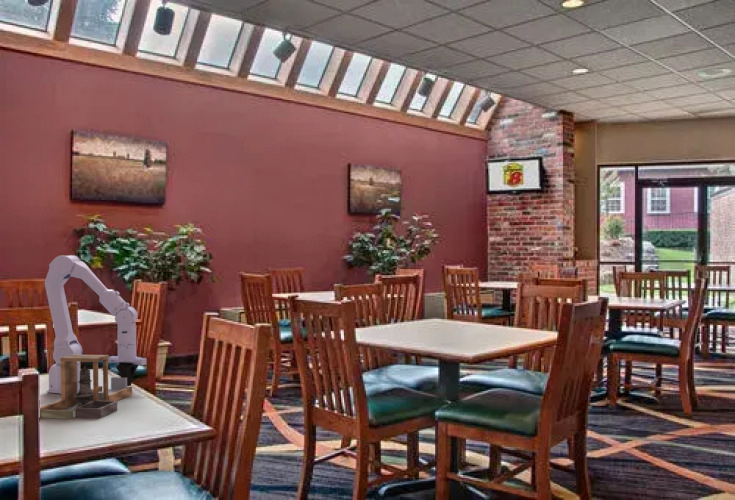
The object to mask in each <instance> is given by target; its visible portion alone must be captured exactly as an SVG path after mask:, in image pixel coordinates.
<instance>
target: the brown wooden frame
mask: <svg viewBox="0 0 735 500" xmlns="http://www.w3.org/2000/svg"><path fill="white" fill-rule="evenodd" d="M109 357H110V354H82V355H69V356H65V357H62V358H60V361H61V394H60V400H57V401H54V402H51V403H48V404H45V405H43V406H41V407H40V406H39V408H40V418H39V419H42V418H44V419H65V420H66V419H69V420H71V419H74V417H75V418H79V419H80V418H81V419H82V418H85V419H100V418H104V417H105V416H107V415H111V414H113V413H115V412H117V411H118V402H119V401H122V400H123V399H126V398H128V397H130V396H133V387H132V386H127V388H124V389H122V390H119V391H117V392H114V393H111V394H109V395H108V390H109V363H108V359H109ZM101 361H102V385H99V362H101ZM77 362H80V363H81V362H82V363H91V362H92V382H93V383H92V385H93V386H92V387H93V388H92V387H91V390H92V392H93V401H91V402H89V403H86V404H84V405H81V406H78V407H76V405H79V403H78V402H77V401H76V397H75V396H74V395H75V394H77V393H78V392H77ZM99 392H103V401H99ZM72 406H73V407H74V406H75V408H74V410H69V409H68V408H70V407H72ZM67 409H68V410H67Z"/></svg>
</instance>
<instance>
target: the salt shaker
mask: <svg viewBox="0 0 735 500" xmlns="http://www.w3.org/2000/svg"><path fill="white" fill-rule="evenodd" d="M91 382H93V379H91V370H90V369H89V368H87V366H86V365H84V366H83V368H82V369H80V381H79V383H80V389H79V392H77V394H75V395H74V396H75V397H76V401H77V402H78V404H76V405H75V408H76V407H78V406H81V405H84V404H86V403H89V402H91V401H93V392H92V390H91V389H92V383H91Z"/></svg>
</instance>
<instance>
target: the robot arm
mask: <svg viewBox="0 0 735 500" xmlns="http://www.w3.org/2000/svg"><path fill="white" fill-rule="evenodd" d="M48 267H49V269H48V271H47V274H46V277H45V280H44V287H45V292H46V296H47V301H48V305H49V307H48V308H49V310H50V311H49V312H50V316H51V320H52V326H53V330H54V335H55V338H54V341H53V349H54V350H53V353H52V358H53V360H54V362H55V363H54V364H52V365H51V366H50V368H49V370H48V389H47V390H46V393H53V394H60V395H61V361H60V358H62V357H65V356H69V355H83V347H82V345H81V344H80V342H79V341H78V337H77V335H75V333H74V331H73V327H72V321H71V316H70V311H69V307H68V302H67V296H66V293H65V288H64V285H65V284H66V283H67V281H68V280H69V279H70V278H71V277H72V278H77V279H81V280H82V281H83V282H84V283H85V284H86V285H87V286H88V287H89V288H90V289H91V290H93V291H94V292H95V293H96V294H97V295H98V297H99V300H98V301H99V303H100V304H101V305H102V306H103V307H104V308H105V309H106V310H107V311H108V313H110V314H111V316H113V317H114V321H115V323H116V324H117V332H116V333H117V355H112V356H109V359H108V364H109V363H110V364H111V363H114V364H117V365H115V369H116V370H117V372H118V373H119V376H120V378H127V387H132V383H133V378H134V375H135V373H136V371H137V369H138V367H139V366H145V365H147V358H146V357H145V358H143V357H140V356H137V329H136V328H137V324H136V321H137V320H138V315H139V314H138V312H137V310H136V308H135V307H133V306H130V303H129V302H126V301H125V300H124V299H123V298H122V296H120V295H121V294H120V292H119V291H118V290H115V289H108V288H107V287H106V286H105V285H104V284H103V282H102V281H101V280H100V279H99V278H98V277H97V275H96V274H95V273H94V272H93V271H92V270H91V269H90V267H89V266H88V265H87V264H86V263H85V262H84V261H83V260H82V261H81V258H79V256H78V255H74V254H70V255H65V254H63V255H58V256H56V257H55V258H54V259H53V260H52V261H51V262H50V263H49V265H48ZM80 370H81V362H77V393H78V392H79V389H80V383H79V381H80Z"/></svg>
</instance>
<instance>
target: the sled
mask: <svg viewBox="0 0 735 500" xmlns="http://www.w3.org/2000/svg"><path fill="white" fill-rule="evenodd" d="M127 387H128V386H127V378H121V377H119V376H118V377H110V389H109V388H108V395H109V394H111V393H114V392H117V391H119V390H122V389H124V388H127ZM99 401H103V391H102V392H99Z"/></svg>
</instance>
